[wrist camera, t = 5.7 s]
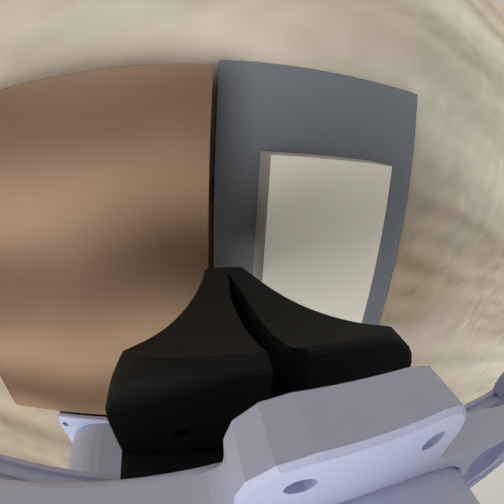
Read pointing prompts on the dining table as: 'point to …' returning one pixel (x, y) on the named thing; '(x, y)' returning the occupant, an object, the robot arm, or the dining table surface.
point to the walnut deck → (98, 223)
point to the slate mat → (305, 148)
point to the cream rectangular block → (320, 229)
